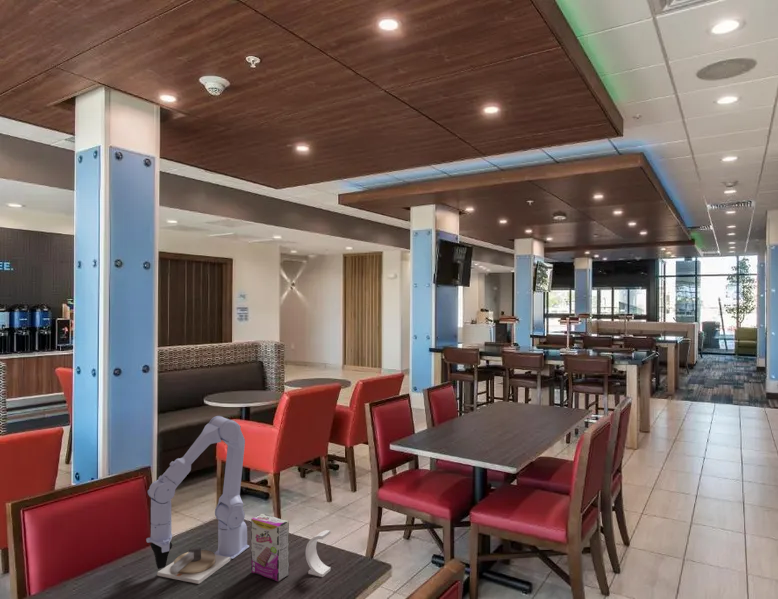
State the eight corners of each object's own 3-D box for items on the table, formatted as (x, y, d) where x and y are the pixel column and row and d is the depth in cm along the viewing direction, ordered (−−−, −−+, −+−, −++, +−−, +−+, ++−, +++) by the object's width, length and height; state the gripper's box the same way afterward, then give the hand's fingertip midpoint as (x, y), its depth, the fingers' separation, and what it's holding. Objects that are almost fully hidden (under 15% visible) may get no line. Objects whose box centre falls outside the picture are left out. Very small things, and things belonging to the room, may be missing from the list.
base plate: (191, 553, 174) (191, 549, 174) (230, 560, 169) (230, 556, 169) (157, 575, 160) (157, 571, 160) (198, 583, 155) (198, 579, 155)
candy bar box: (250, 573, 161) (250, 518, 161) (262, 566, 165) (261, 512, 165) (278, 582, 155) (278, 526, 155) (289, 575, 159) (289, 519, 160)
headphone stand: (322, 577, 158) (322, 536, 158) (305, 573, 161) (305, 532, 161) (330, 570, 162) (330, 530, 162) (314, 566, 165) (313, 527, 165)
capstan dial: (188, 553, 171) (188, 539, 171) (222, 556, 169) (222, 543, 169) (154, 579, 155) (154, 564, 155) (191, 584, 152) (191, 569, 152)
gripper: (142, 516, 164) (142, 561, 164) (150, 533, 152) (150, 581, 151) (167, 511, 168) (167, 555, 167) (177, 527, 155) (177, 574, 155)
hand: (161, 567), depth 160 cm, fingers closed
